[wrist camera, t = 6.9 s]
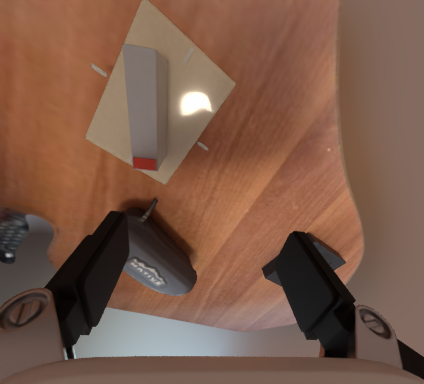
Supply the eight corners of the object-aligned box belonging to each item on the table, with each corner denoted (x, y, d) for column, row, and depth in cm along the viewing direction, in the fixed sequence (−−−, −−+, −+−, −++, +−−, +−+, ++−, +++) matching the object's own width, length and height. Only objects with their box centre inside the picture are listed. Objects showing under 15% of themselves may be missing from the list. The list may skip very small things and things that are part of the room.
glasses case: (91, 223, 27) (73, 253, 20) (147, 182, 28) (148, 197, 21) (164, 283, 35) (170, 319, 28) (205, 248, 36) (220, 275, 29)
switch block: (308, 232, 32) (321, 249, 28) (338, 253, 35) (353, 271, 32) (261, 268, 36) (268, 287, 33) (292, 284, 40) (301, 302, 36)
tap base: (136, -5, 16) (123, -25, 13) (242, 94, 21) (248, 94, 18) (84, 124, 21) (67, 129, 18) (178, 182, 26) (175, 192, 23)
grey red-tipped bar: (143, 56, 16) (120, 41, 11) (168, 61, 16) (155, 48, 12) (147, 153, 20) (131, 170, 16) (166, 155, 20) (157, 172, 16)
